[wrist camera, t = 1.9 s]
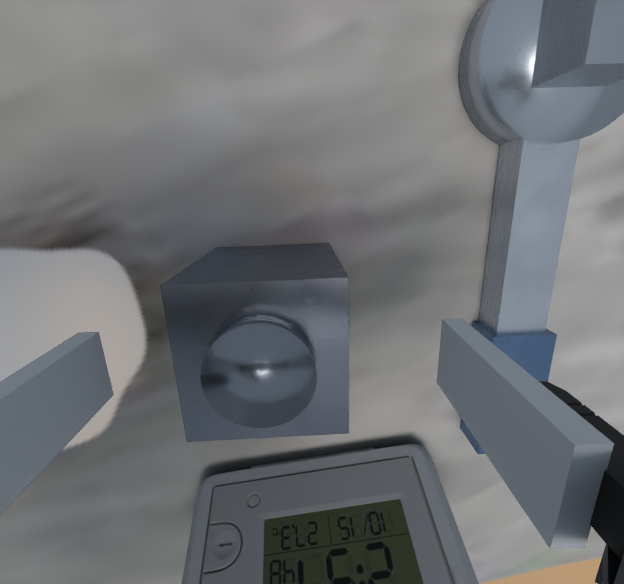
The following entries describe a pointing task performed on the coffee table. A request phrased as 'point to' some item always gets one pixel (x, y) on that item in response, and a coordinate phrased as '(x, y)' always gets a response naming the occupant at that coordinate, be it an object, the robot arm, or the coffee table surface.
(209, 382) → the socket
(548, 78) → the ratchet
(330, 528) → the digital clock
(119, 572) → the coffee table surface
